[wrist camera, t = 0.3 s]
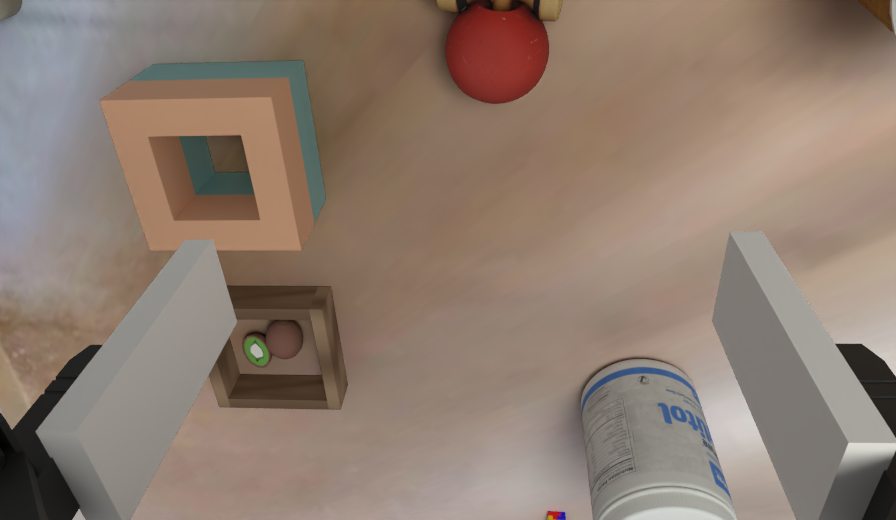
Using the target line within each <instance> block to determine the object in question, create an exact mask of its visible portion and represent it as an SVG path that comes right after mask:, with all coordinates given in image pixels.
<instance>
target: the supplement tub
mask: <svg viewBox="0 0 896 520" xmlns="http://www.w3.org/2000/svg"><path fill="white" fill-rule="evenodd" d="M581 413H582V421H583V432H584V440H585V449H586V458H587V467H588V476H589V486H590V495H591V505H592V514H593V520H737V517H736V513H735V510H734V507H733V503H732V500H731V497H730V494H729V491H728V488H727V485H726V482H725V478H724V475H723V472H722V469H721V466H720V463H719V460H718V457H717V454H716V451H715V448H714V444H713V441H712V438H711V435H710V432H709V429H708V426H707V423H706V420H705V417H704V414H703V411H702V407H701V405H700V402H699V398H698V396H697V393H696V390H695V388H694V385H693V384H692V382H691V381H690V379H689V378H688V377H687V376H686V375H685V374H684V373H683V372H681V371H680V370H679V369H677V368H676V367H674V366H672V365H669V364H667V363H664V362H660V361H656V360H649V359H632V360H625V361H621V362H618V363H615V364H612V365H610V366H608V367H606V368H604V369H603V370H601V371H600V372H598V373H597V374H596V375H595V376H594V377H593V378H592V379H591V380H590V381H589V382H588V384H587V385H586V387H585V389H584V391H583V394H582V398H581Z"/></svg>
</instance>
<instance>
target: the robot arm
mask: <svg viewBox="0 0 896 520" xmlns="http://www.w3.org/2000/svg"><path fill="white" fill-rule="evenodd" d="M712 322H713V325H714V327H715V329H716V332H717V334H718V336H719V339H720V341H721V343H722V346H723V348H724V350H725V353H726V355H727V357H728V360H729V362H730V364H731V367H732V369H733V372H734V374H735V376H736V379H737V381H738V383H739V386H740V388H741V390H742V393H743V395H744V397H745V400H746V402H747V404H748V407H749V409H750V411H751V414H752V416H753V419H754V421H755V423H756V426H757V428H758V430H759V433H760V435H761V437H762V440H763V442H764V444H765V447H766V449H767V451H768V454H769V456H770V458H771V461H772V463H773V466H774V468H775V470H776V473H777V475H778V477H779V480H780V482H781V484H782V487H783V489H784V491H785V494H786V496H787V498H788V501H789V503H790V505H791V508H792V510H793V513H794V515H795V517H796V520H896V377H895V375H894V374H893V372H892V371H891V370H890V368H889V367H888V366H887V364H886V363H885V361H884V360H882V359H881V358H880V357H878V356H877V355H876V354H874V353H873V352H872V351H870V350H869V349H868V348H866V347H865V346H864V345H862V344H835V343H834V342H833V340H832V339H831V337H830V335H829V334H828V332H827V331H826V329H825V328H824V326H823V325H822V323H821V321H820V320H819V318H818V317H817V315H816V314H815V312H814V311H813V309H812V308H811V306H810V304H809V303H808V301H807V300H806V298H805V297H804V295H803V294H802V292H801V291H800V289H799V287H798V286H797V284H796V283H795V281H794V280H793V278H792V277H791V275H790V274H789V272H788V270H787V269H786V267H785V266H784V264H783V263H782V261H781V260H780V258H779V257H778V255H777V253H776V252H775V250H774V249H773V247H772V246H771V244H770V243H769V241H768V239H767V238H766V236H765V235H764V233H763V232H762V231H756V232H730V233H729V238H728V243H727V248H726V253H725V258H724V263H723V268H722V273H721V278H720V283H719V288H718V293H717V298H716V303H715V308H714V313H713V318H712ZM236 323H237V319H236V316H235V313H234V309H233V306H232V302H231V299H230V296H229V292H228V289H227V285H226V282H225V279H224V275H223V272H222V269H221V265H220V262H219V258H218V255H217V252H216V248H215V245H214V241H213V239H206V240H184V242H183V243H182V244H181V246H180V247H179V248H178V249H177V251H176V252H175V253H174V254H173V256H172V257H171V258H170V260H169V261H168V262H167V263H166V265H165V266H164V267H163V269H162V270H161V271H160V272H159V274H158V275H157V276H156V278H155V279H154V280H153V281H152V283H151V284H150V285H149V287H148V288H147V289H146V290H145V292H144V293H143V294H142V296H141V297H140V298H139V299H138V301H137V302H136V303H135V305H134V306H133V307H132V308H131V310H130V311H129V312H128V313H127V315H126V316H125V317H124V319H123V320H122V321H121V322H120V324H119V325H118V326H117V328H116V329H115V330H114V331H113V333H112V334H111V335H110V337H109V338H108V339H107V340H106V342H105V343H104V344H103V345H90V346H88V347H87V348H86V349H84V350H83V351H81V352H80V353H79V354H77V355H76V356H75V357H73V358H72V359H70V360H69V361H68V363H67V364H66V365H65V366H64V368H63V369H62V370H61V371H60V372H59V374H58V375H57V376H56V380H53V381H52V382H51V383H50V385H49V386H48V387H47V388H46V389H45V393H44V394H41V396H40V397H39V398H38V399H37V400H36V402H35V403H34V404H33V405H32V407H31V408H30V409H29V410H28V411H27V413H26V414H25V415H24V416H23V418H22V419H21V420H20V421H19V422H18V424H17V425H16V426H15V427H14V429H13V430H11V428H10V426H9V425H8V423H7V421H6V420H5V418H4V417H3V416H2V414H1V413H0V520H72V519H73V517H74V516H75V514H76V512H77V511H78V509H80V510H81V512H82V514H83V516H84V517H85V519H86V520H130V519H131V517H132V515H133V513H134V511H135V510H136V508H137V506H138V504H139V502H140V500H141V499H142V497H143V495H144V493H145V491H146V489H147V488H148V486H149V484H150V482H151V480H152V478H153V476H154V475H155V473H156V471H157V469H158V467H159V465H160V464H161V462H162V460H163V458H164V456H165V454H166V453H167V451H168V449H169V447H170V445H171V443H172V441H173V440H174V438H175V436H176V434H177V432H178V430H179V429H180V427H181V425H182V423H183V421H184V419H185V417H186V416H187V414H188V412H189V410H190V408H191V406H192V405H193V403H194V401H195V399H196V397H197V395H198V394H199V392H200V390H201V388H202V386H203V384H204V382H205V381H206V379H207V377H208V375H209V373H210V371H211V370H212V368H213V366H214V364H215V362H216V360H217V358H218V357H219V355H220V353H221V351H222V349H223V347H224V346H225V344H226V342H227V340H228V338H229V336H230V335H231V333H232V331H233V329H234V327H235V325H236Z"/></svg>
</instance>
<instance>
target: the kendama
mask: <svg viewBox="0 0 896 520" xmlns="http://www.w3.org/2000/svg"><path fill="white" fill-rule="evenodd" d="M436 2H437V5H438V7H439V9H440V10H445V11H451V12H457V13H458V12H459V15H458V16H457V17H456V19H455V20H454V22H453V24H452V26H451V27H450V30H449V33H448V36H447V40H446V62H447V66H448V69H449V72H450V74H451V76H452V78H453V80H454V82H455V83H456V84H457V86H458V87H459V88H460V89H461V90H462V91H463V92H464V93H465V94H467V95H468V96H470V97H472V98H474V99H476V100H479V101H482V102H486V103H493V104H498V103H506V102H511V101H513V100H516V99H518V98H520V97H522V96H524V95H525V94H527V93H528V92H529V91H530V90H532V89H533V88H534V86H536V84H537V83H538V81H539V80H540V78H541V77H542V75H543V72H544V71H545V68H546V64H547V61H548V56H549V42H548V35H547V32H546V29H545V27H544V24H543V22H542V21H556V20H557V19H558V18H559V15H560V11H561V6H562V2H563V0H436Z"/></svg>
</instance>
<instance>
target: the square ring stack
mask: <svg viewBox="0 0 896 520" xmlns="http://www.w3.org/2000/svg"><path fill="white" fill-rule="evenodd" d="M99 102H100V105H101V108H102V111H103V114H104V117H105V120H106V123H107V125H108V128H109V131H110V134H111V137H112V140H113V143H114V146H115V149H116V152H117V155H118V158H119V161H120V164H121V166H122V169H123V172H124V175H125V178H126V181H127V184H128V187H129V190H130V193H131V196H132V199H133V202H134V205H135V207H136V210H137V213H138V216H139V219H140V222H141V225H142V228H143V231H144V234H145V237H146V240H147V243H148V246H149V248H150V250H177V249H178V248H179V247H180V246H181V244H182V243H183V242H184V240H206V239H213V241H214V245H215V248H216V250H301V249H302V247H303V245H304V243H305V241H306V239H307V237H308V235H309V233H310V231H311V229H312V227H313V225H314V223H315V221H316V219H317V216H318V214H319V212H320V210H321V208H322V206H323V204H324V202H325V200H326V196H325V190H324V184H323V178H322V172H321V166H320V159H319V153H318V147H317V141H316V135H315V129H314V123H313V116H312V110H311V104H310V98H309V92H308V86H307V80H306V73H305V67H304V61H303V60H302V61H261V62H220V63H180V64H153V65H152V66H150V67H149V68H147V69H146V70H144V71H143V72H141V73H140V74H138V75H137V76H135V77H134V78H132V79H131V80H129V81H128V82H126V83H125V84H123V85H122V86H120V87H119V88H117V89H116V90H114V91H113V92H111V93H110V94H108V95H107V96H105V97H104V98H102V99H101V100H99ZM222 135H241V137H242V141H243V146H244V150H245V154H246V159H247V163H248V168H249V172H214V168H213V164H212V160H211V156H210V153H209V149H208V145H207V141H206V137H205V136H222Z"/></svg>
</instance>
